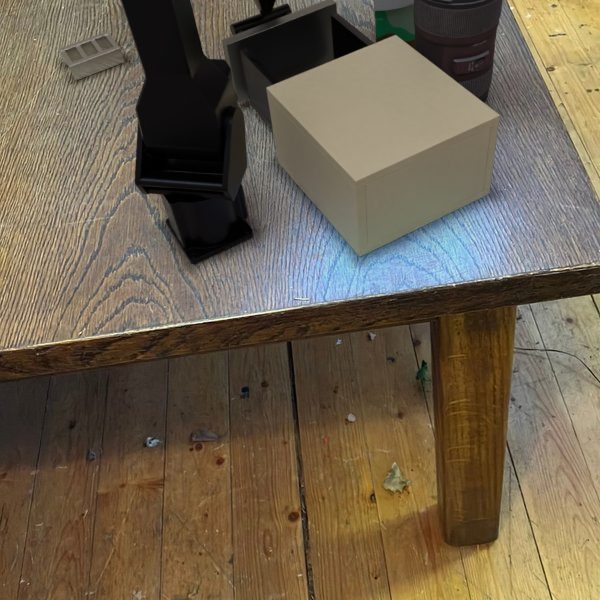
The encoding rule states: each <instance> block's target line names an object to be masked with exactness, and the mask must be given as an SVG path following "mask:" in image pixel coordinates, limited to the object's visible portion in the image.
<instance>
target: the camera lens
mask: <svg viewBox="0 0 600 600" xmlns="http://www.w3.org/2000/svg"><path fill="white" fill-rule="evenodd" d="M502 7H503V0H414V10H413V16H414V27H415V37H414V49H415V50H416V51H417V52H419V53H420V54H421V55H422V56H424V57H425V58H426V59H428V60H429V61H430V62H432V63H433V64H434V65H435V66H437V67H438V68H439V69H441V70H442V71H443V72H444V73H446V74H447V75H448V76H450V77H451V78H452V79H454V80H455V81H456V82H457V83H459V84H460V85H461V86H463V87H464V88H465V89H467V90H468V91H469V92H470V93H472V94H473V95H474V96H476V97H477V98H478V99H479V100H481V101H482V102H483V103H485V104H486V102H487V100H488V98H489V97H488V96H489V93H490V88H491V84H492V80H493V74H494V63H495V61H494V60H495V59H494V58H495V49H496V42H497V31H498V27H499V26H500V25H499V24H500V19H501V16H502V9H503V8H502Z"/></svg>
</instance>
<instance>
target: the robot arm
mask: <svg viewBox="0 0 600 600" xmlns="http://www.w3.org/2000/svg"><path fill="white" fill-rule="evenodd" d="M276 1H277V0H253V2H254V4H255V7H256V8H257V10H258V12H259V14H260V13H261V15H263V16H264V17H267V16H269V15H271V13H272V10H273V8H275V5H276ZM120 3H121V6H122V9H123V13H124V16H125V18H126V22H127V25H128V28H129V31H130V34H131V37H132V41H133V43H134V47H135V49H136V52H137V55H138V58H139V62H140V64H141V67H142V71H143V74H144V75H143V76H144V81H143V84H142V87H141V90H140V93H139V95H138V98H137V101H136V104H135V108H134V109H135V115H136V118H137V131H136V148H135V150H136V151H135V152H136V153H135V167H134V185H135V187H137V189H138V190H139V191H140V193H141V195H147V196H148V195H150V194H151V195H160V198H161V201H162V204H163V207H164V209H165V212H166V215H167V218H166V220H165V225H166V227H167V228H168V230H169V231H170V233H171V235H172V237H173V238H174V240H175V241H176V242H177V244H178V245H179V248H180V249H181V250H182V252H183V254H184V255H185V257H186V259H187V260H188V262H189V263H191V264H197V263H199V262H201V261H203V260H206V259H207V258H209V257H212V256H214V255H216V254H218V253H220V252H223V251H225V250H227V249H229V248H232V247H234V246H236V245H237V244H240V243H243V242H244V241H247V240H248V239H251V238H252V237H253V236H254V230H253V229H252V227H251V225H250V224H249V223H248V222H247V219H249V216H250V213H249V209H248V204H247V200H246V195H245V191H244V186H243V184H242V183H243V179H244V178H245V177H244V176H245V174H246V171H247V169H248V154H247V138H246V123H245V122H246V121H245V115H244V111H243V109H242V108H241V107H240V106H239V103H238V102H237V101H238V97H237V95H236V93H235V89H234V86H233V80H232V73H231V68H230V66H229V65H228V63H227V62H226V59H225V58H208V56H206V54H205V52H204V50H203V46H202V42H201V38H200V34H199V29H198V25H197V22H196V17H195V13H194V8H193V5H192V1H191V0H120Z"/></svg>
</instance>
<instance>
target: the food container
mask: <svg viewBox="0 0 600 600" xmlns="http://www.w3.org/2000/svg"><path fill="white" fill-rule="evenodd" d="M413 10H414V0H373V11H374V25H375V28H374V29H375V43H377V42H379V41H382V40H384V39H387V38H389V37H392V36H394V35H397V36H398V37H399V38H400V39H402V40H403V41H404V42H406V43H407V44H408V45H409V46H411V47H412V48H413V49H414V37H415V27H414V16H413Z"/></svg>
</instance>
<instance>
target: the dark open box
mask: <svg viewBox="0 0 600 600" xmlns="http://www.w3.org/2000/svg"><path fill="white" fill-rule="evenodd" d="M337 7H338V6H337V2H336V1H335V0H322V1H319V2H316V3H314V4H311V5H309V6H307V7H303V8H301V9H299V10H296V11H294V12H292V8H291V6H290V4H288V3H287V2H286V3H284V4H281V5H278V6H276V7H275V6H274V7H273V10H272V13H271V15H269V16H267V17H264V16H263V15H261V13H260V12H259V13H257V14H254V15H251V16H250V17H246V18H243V19H241V20H238V21H236V22H233V23H231V24H230V25H229V29H230V33H231V36H228V37H225V38H223V39H221V43H222V49H223V53H224V60H225V61H226V62H227V63H228V65H229V66H230V68H231V73H232V80H233V86H234V89H235V93H236V95H237V97H238V101H237V104H239V103H242V102H244V101H246V100H248V103H249V106H251V108H252V109H253V110H254V111H255V112H256V114H258V116H259V117H260V118H262V120H263V121H264V122H265V124H267V125H268V127H270V129H271V130H272V131H273V127H272V121H271V115H270V109H269V102H268V95H267V90H266V88H267V87H269V86H271V85H274V84H276V83H279V82H281V81H284V80H286V79H289V78H291V77H294V76H296V75H298V74H301V73H303V72H306V71H308V70H311V69H313V68H316V67H318V66H321V65H323V64H325V63H328V62H330V61H333V60H335V59H338V58H340V57H343V56H345V55H348V54H350V53H352V52H355V51H357V50H360V49H362V48H365V47H367V46H370V45H372V44H375V43H376V42H374V41H373V40H372V39H370V38H369V37H368V36H367V35H366V34H365V33H363V32H362V31H360V30H359V29H358V28H357V27H355V26H354V25H353V24H352V23H351V22H349V21H348V20H347V19H346V18H345V17H343V16H342V15H341V14H340V13H338V9H337Z"/></svg>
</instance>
